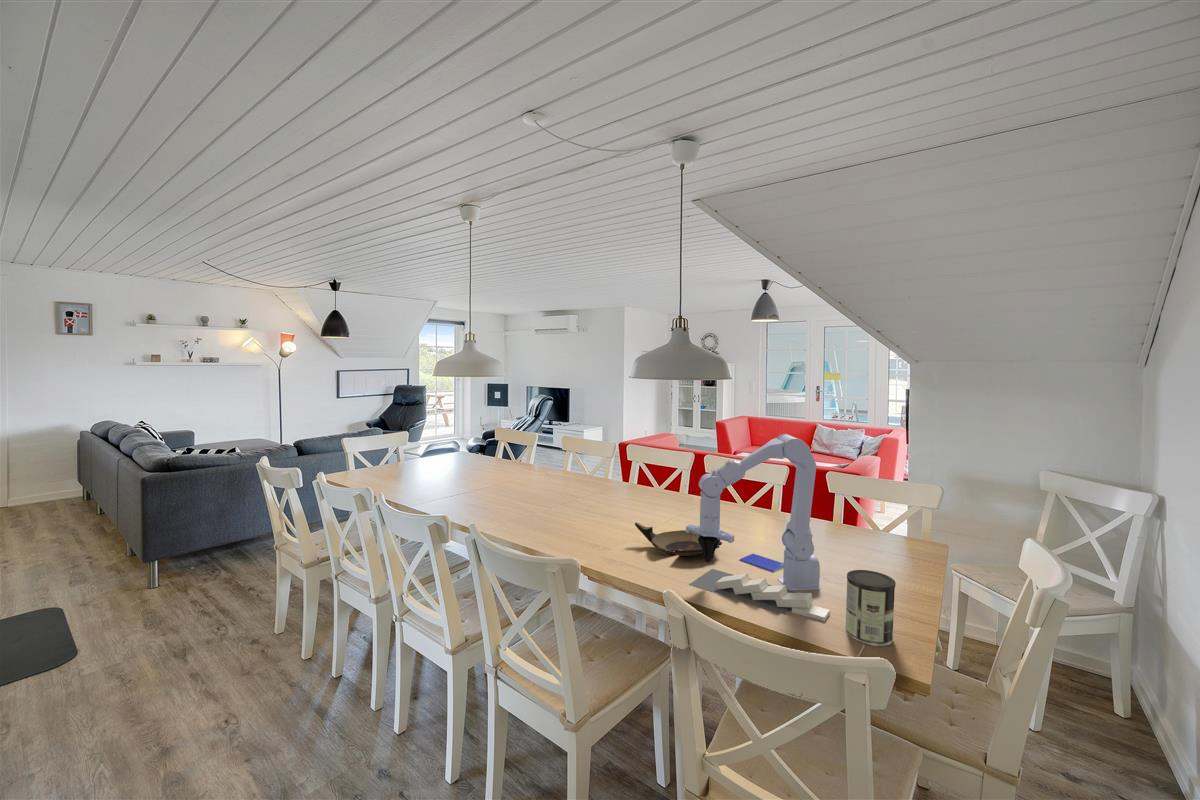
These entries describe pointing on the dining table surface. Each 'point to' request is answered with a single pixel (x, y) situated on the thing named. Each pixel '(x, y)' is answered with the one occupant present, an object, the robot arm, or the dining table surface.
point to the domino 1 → (733, 581)
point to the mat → (710, 585)
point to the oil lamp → (674, 541)
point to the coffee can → (870, 607)
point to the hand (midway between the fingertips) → (708, 561)
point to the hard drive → (763, 562)
